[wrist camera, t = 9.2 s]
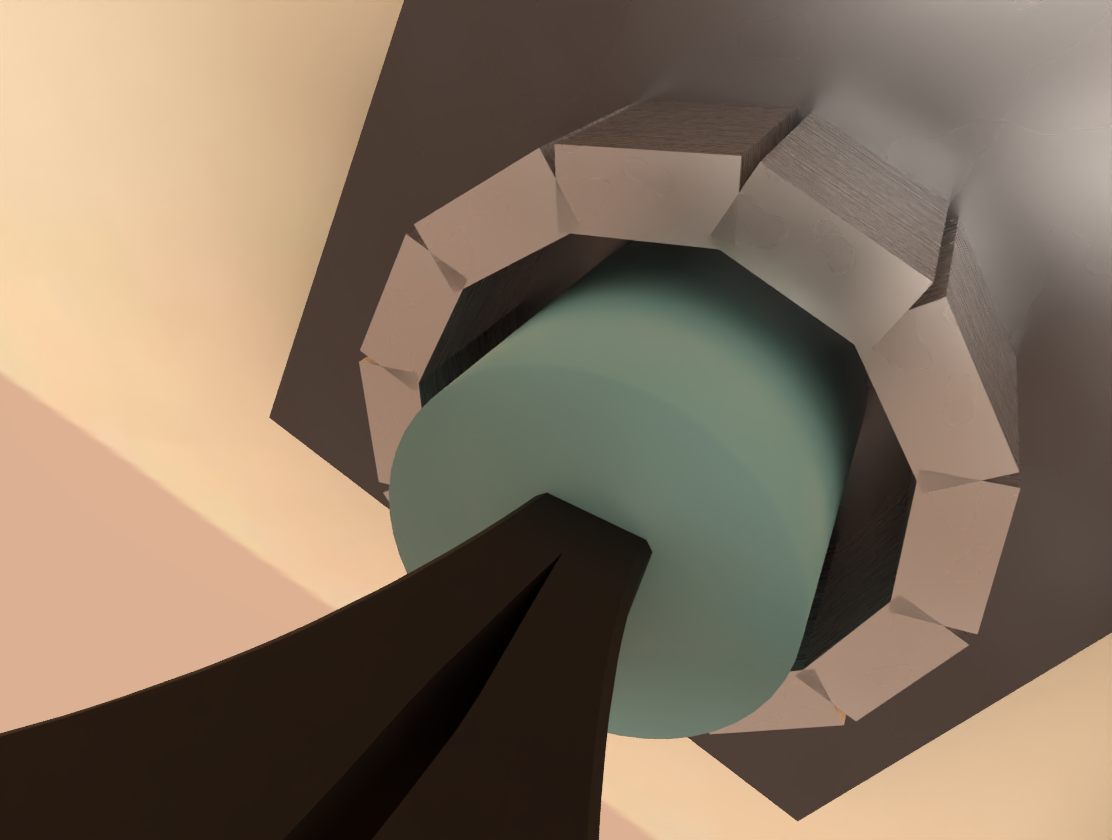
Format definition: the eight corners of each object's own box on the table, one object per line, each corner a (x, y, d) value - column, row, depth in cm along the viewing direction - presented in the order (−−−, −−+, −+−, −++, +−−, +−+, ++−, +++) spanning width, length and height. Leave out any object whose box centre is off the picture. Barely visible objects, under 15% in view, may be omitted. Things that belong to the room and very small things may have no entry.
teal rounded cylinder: (605, 177, 12) (422, 286, 8) (932, 313, 11) (897, 510, 7) (529, 436, 15) (366, 607, 11) (784, 564, 14) (703, 803, 10)
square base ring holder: (565, -365, 10) (376, -490, 7) (1577, 287, 9) (1869, 470, 6) (299, 397, 19) (161, 489, 16) (806, 782, 18) (764, 963, 15)
